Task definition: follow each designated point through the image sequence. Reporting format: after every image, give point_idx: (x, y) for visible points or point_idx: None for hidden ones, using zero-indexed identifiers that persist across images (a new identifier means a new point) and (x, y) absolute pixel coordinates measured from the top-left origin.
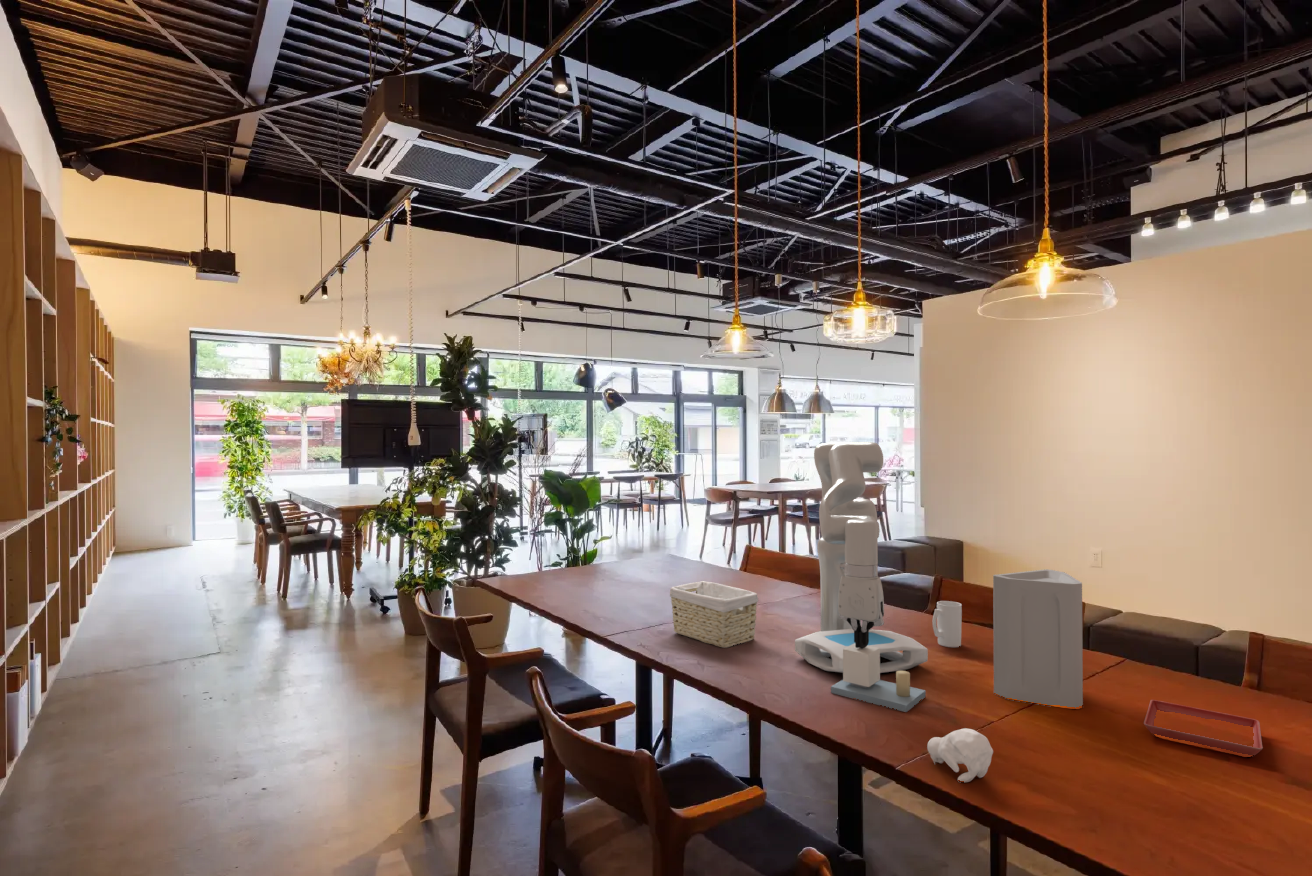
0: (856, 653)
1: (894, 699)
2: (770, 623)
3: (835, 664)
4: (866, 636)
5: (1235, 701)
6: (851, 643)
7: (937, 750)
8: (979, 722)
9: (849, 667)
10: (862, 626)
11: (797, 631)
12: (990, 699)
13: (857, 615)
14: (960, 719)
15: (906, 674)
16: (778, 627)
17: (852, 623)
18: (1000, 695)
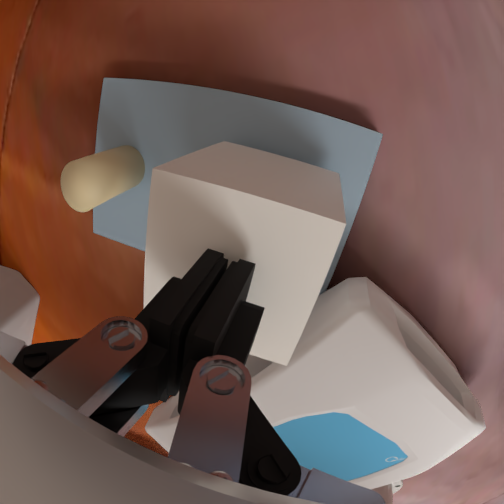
0: (240, 186)
1: (138, 105)
2: (464, 490)
3: (383, 304)
4: (145, 316)
5: None
6: (324, 436)
7: None
8: (12, 126)
9: (304, 178)
10: (114, 364)
11: (429, 486)
12: (30, 262)
13: (29, 454)
14: (31, 118)
15: (65, 173)
16: (457, 485)
17: (228, 424)
18: (27, 283)
